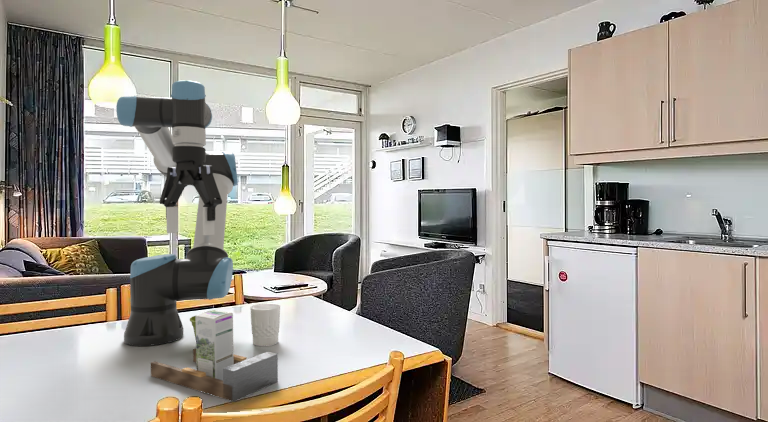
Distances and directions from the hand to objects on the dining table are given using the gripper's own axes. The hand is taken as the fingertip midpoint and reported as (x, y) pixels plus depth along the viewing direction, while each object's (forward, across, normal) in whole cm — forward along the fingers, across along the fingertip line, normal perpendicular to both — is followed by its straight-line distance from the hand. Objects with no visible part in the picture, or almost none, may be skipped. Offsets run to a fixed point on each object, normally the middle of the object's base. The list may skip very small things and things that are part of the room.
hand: (190, 234), depth 117 cm
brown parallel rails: (+31, +15, -6) cm, 35 cm away
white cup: (+31, +6, +19) cm, 37 cm away
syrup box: (+31, +16, -6) cm, 35 cm away
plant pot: (+31, -2, +7) cm, 32 cm away
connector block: (+31, +27, -6) cm, 41 cm away
